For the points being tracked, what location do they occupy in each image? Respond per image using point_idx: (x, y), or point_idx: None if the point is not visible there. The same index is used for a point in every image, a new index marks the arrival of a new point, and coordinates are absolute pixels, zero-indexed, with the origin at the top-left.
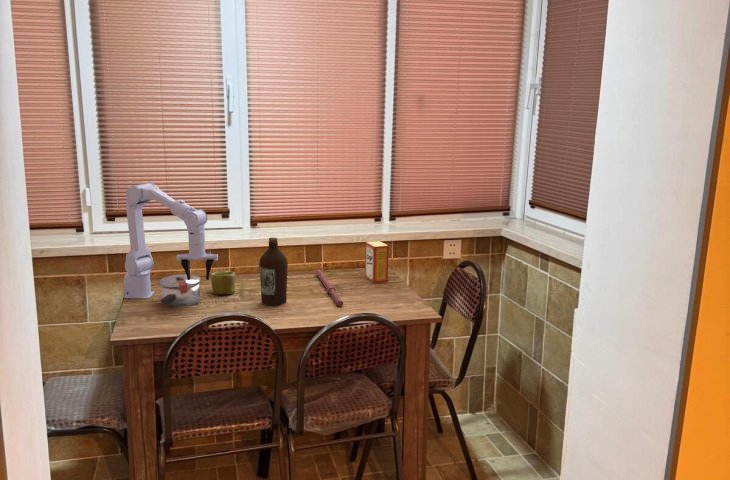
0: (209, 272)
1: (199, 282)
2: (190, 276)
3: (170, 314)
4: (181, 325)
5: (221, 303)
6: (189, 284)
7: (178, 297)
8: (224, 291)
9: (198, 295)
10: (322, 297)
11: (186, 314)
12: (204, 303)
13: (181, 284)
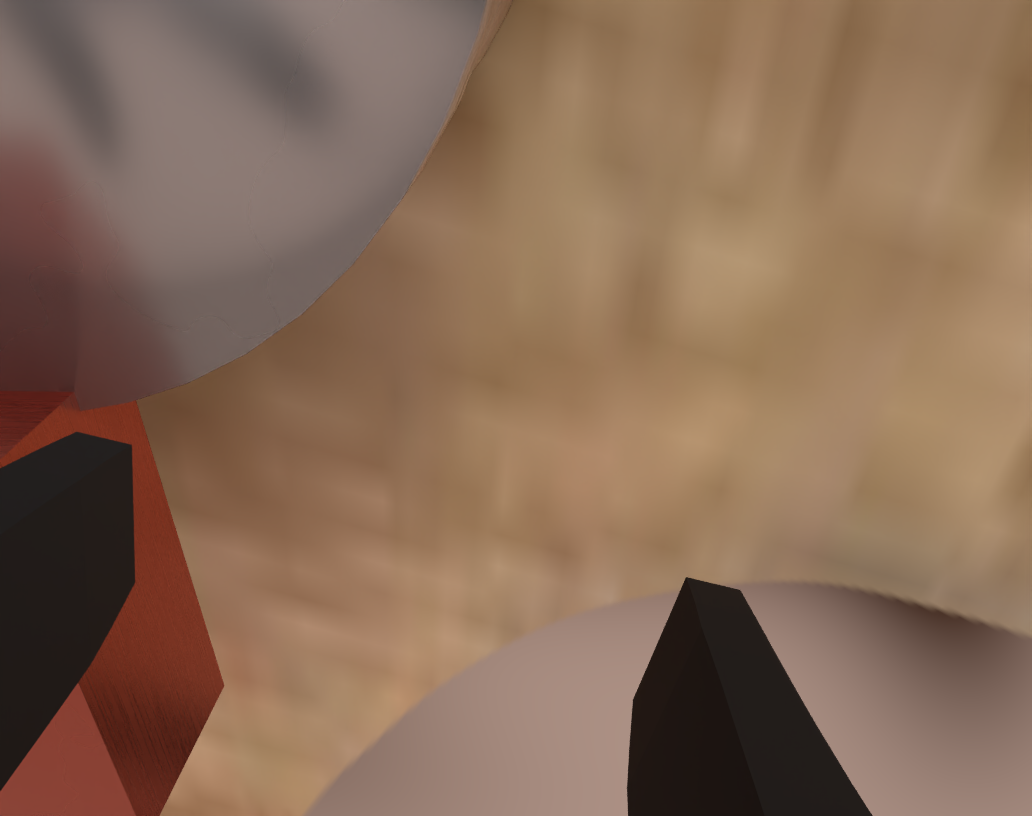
0: (813, 774)
1: (480, 47)
2: (92, 470)
3: None
4: (289, 774)
5: (911, 200)
6: (182, 381)
7: None
8: None
9: (486, 36)
10: None
11: (316, 520)
12: (607, 106)
13: (5, 784)
